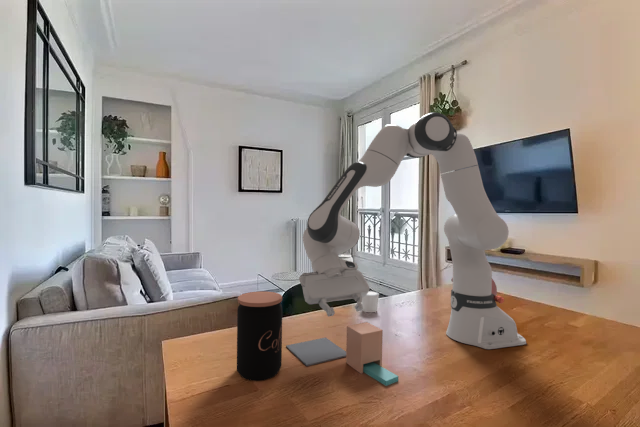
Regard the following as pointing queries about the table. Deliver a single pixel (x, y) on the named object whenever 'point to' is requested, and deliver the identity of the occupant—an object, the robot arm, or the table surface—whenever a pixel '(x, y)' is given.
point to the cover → (363, 345)
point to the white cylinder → (370, 302)
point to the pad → (316, 351)
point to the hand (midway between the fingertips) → (346, 312)
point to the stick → (380, 373)
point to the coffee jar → (259, 335)
